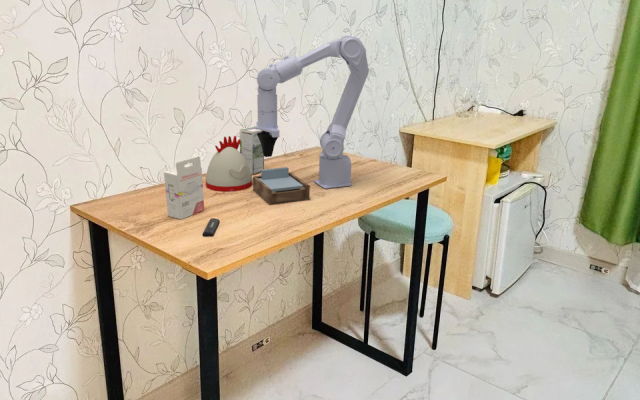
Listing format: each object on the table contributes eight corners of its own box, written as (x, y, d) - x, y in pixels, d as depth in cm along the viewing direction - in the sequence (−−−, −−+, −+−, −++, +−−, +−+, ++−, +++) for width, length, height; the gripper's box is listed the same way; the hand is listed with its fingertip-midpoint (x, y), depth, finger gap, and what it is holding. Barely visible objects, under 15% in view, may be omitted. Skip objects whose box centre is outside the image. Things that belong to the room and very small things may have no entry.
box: (253, 190, 153) (252, 176, 152) (290, 185, 158) (290, 172, 157) (269, 204, 141) (269, 190, 140) (309, 199, 146) (309, 185, 145)
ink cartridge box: (191, 206, 139) (187, 153, 134) (204, 210, 136) (201, 155, 131) (166, 216, 132) (162, 159, 127) (180, 220, 129) (176, 163, 125)
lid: (258, 181, 152) (257, 169, 150) (288, 177, 156) (288, 166, 154) (271, 192, 142) (270, 179, 141) (303, 188, 146) (303, 175, 145)
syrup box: (251, 168, 176) (250, 126, 171) (264, 171, 172) (264, 128, 168) (239, 172, 171) (238, 128, 167) (253, 175, 168) (252, 131, 163)
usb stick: (213, 238, 120) (213, 232, 119) (201, 238, 120) (201, 232, 119) (220, 223, 129) (220, 217, 128) (209, 223, 129) (209, 217, 128)
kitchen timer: (260, 186, 157) (259, 137, 152) (220, 194, 149) (218, 143, 144) (237, 175, 167) (235, 129, 162) (197, 183, 159) (195, 134, 154)
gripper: (246, 107, 156) (247, 151, 160) (262, 115, 143) (263, 163, 148) (268, 106, 159) (269, 150, 163) (286, 114, 146) (286, 161, 151)
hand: (267, 156), depth 156 cm, fingers closed
